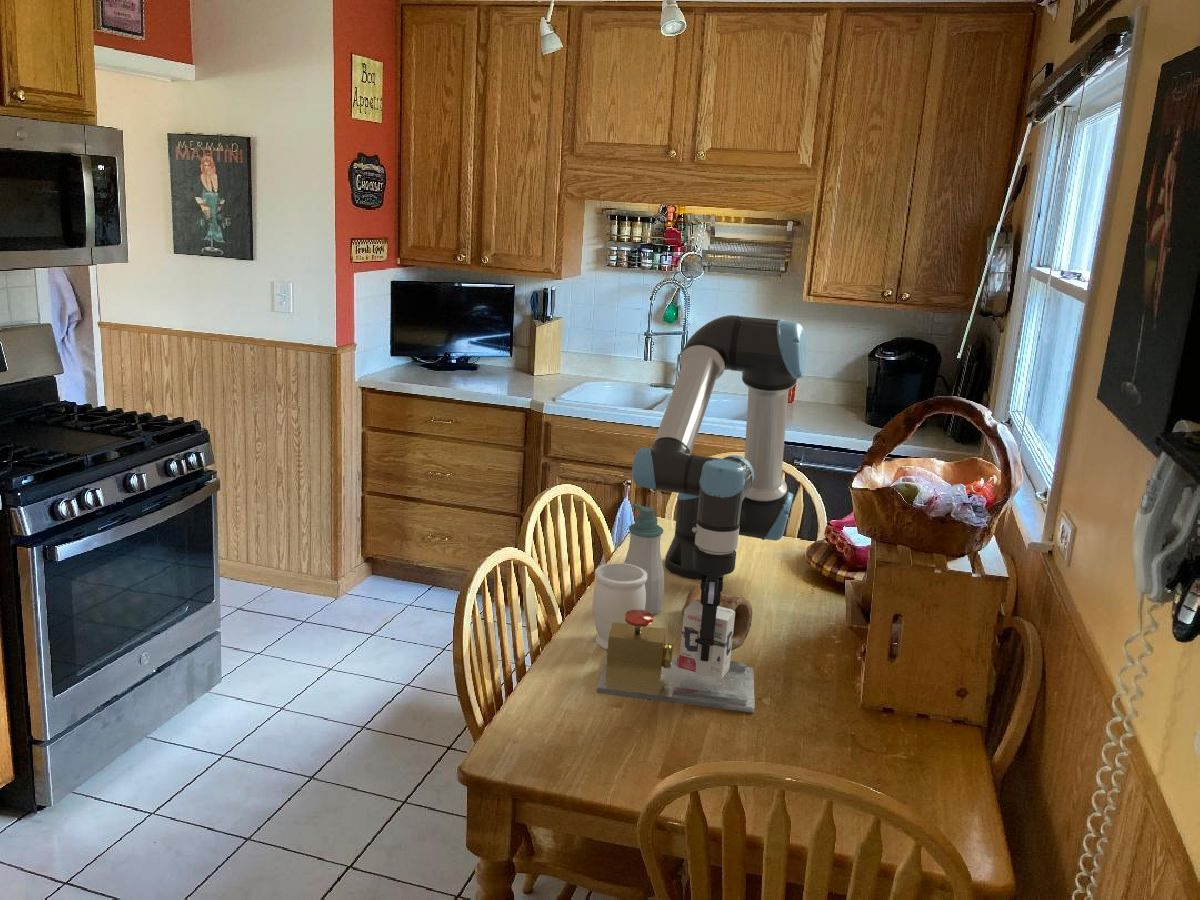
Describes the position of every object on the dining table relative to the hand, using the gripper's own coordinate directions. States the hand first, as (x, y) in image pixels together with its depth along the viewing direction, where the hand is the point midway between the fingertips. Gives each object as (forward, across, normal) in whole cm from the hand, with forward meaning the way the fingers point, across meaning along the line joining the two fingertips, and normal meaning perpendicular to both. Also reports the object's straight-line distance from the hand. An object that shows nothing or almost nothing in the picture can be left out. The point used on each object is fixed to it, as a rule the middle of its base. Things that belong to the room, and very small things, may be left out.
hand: (703, 665), depth 173 cm
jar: (+4, -13, -18) cm, 22 cm away
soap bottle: (+4, -30, -14) cm, 34 cm away
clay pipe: (+4, -23, +2) cm, 24 cm away
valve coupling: (+4, 0, -4) cm, 6 cm away
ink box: (+1, 0, 0) cm, 1 cm away
